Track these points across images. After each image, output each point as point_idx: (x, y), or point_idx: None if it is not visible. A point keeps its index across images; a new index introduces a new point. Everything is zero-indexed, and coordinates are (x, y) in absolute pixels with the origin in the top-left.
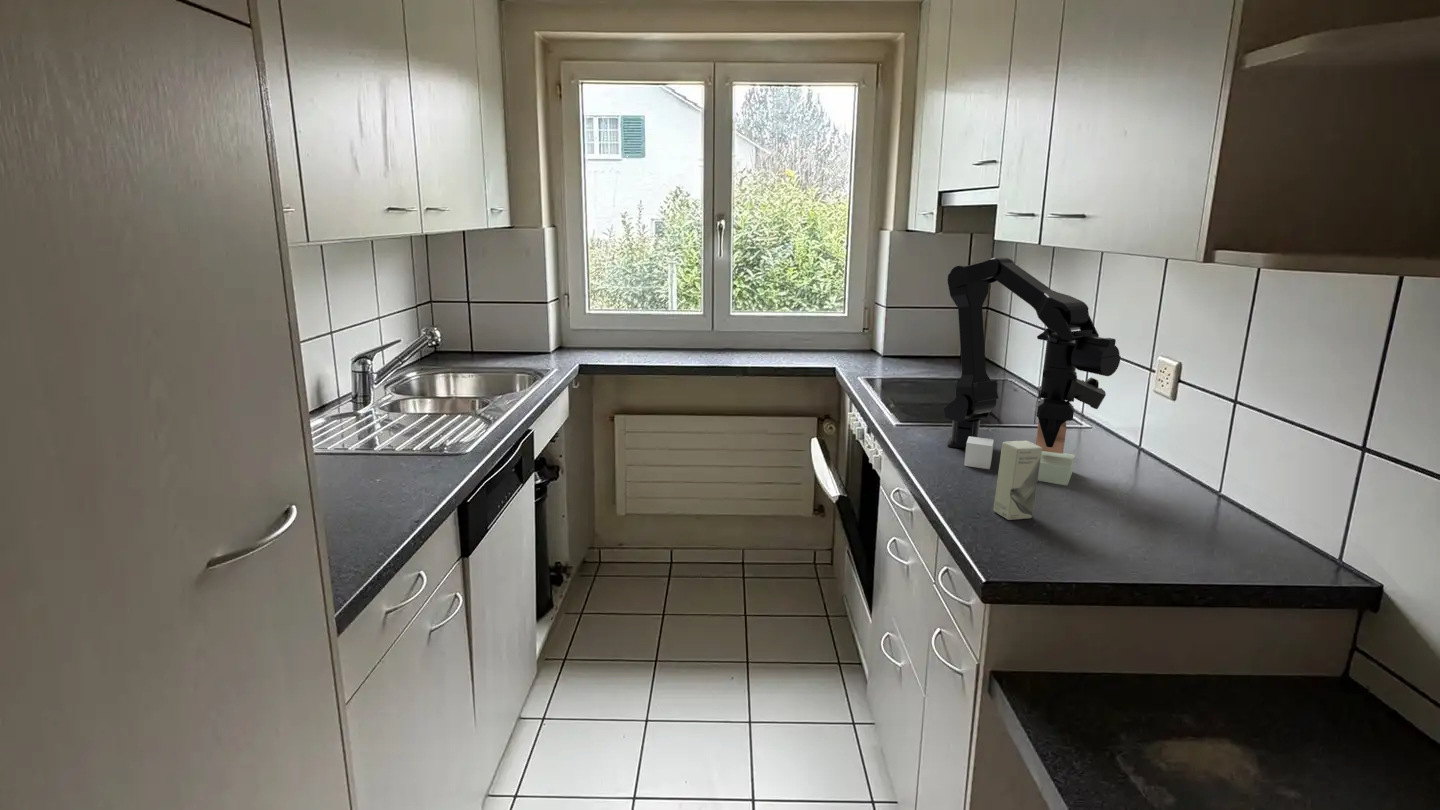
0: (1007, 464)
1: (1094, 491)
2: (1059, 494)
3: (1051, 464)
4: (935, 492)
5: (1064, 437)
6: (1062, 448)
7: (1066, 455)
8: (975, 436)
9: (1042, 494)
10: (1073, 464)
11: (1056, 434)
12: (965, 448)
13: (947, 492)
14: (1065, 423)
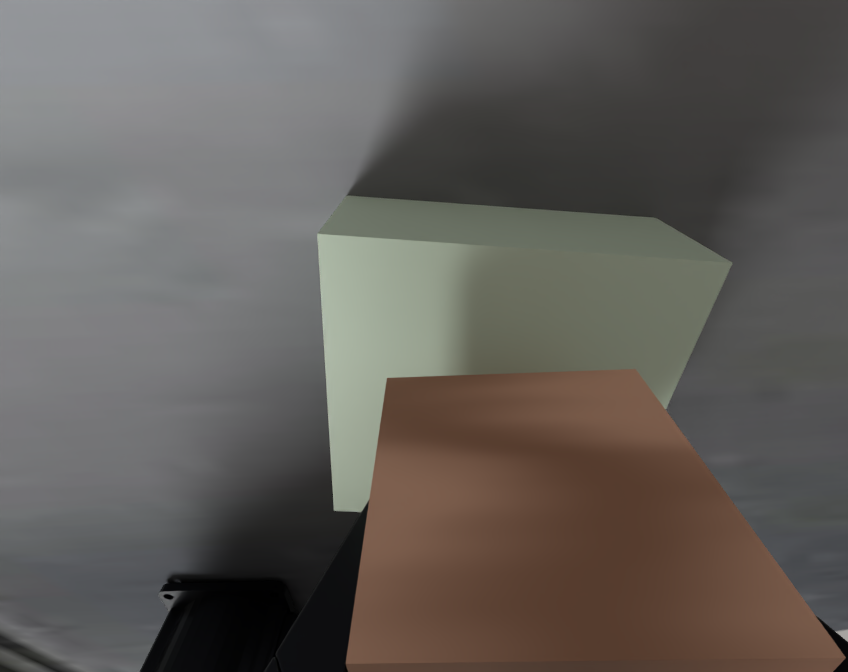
0: None
1: (752, 16)
2: (838, 256)
3: (675, 383)
4: (835, 620)
5: (730, 513)
6: (654, 409)
7: (382, 298)
8: (237, 646)
9: (842, 337)
10: (337, 209)
11: (826, 630)
12: (294, 608)
13: (833, 599)
14: (429, 666)
